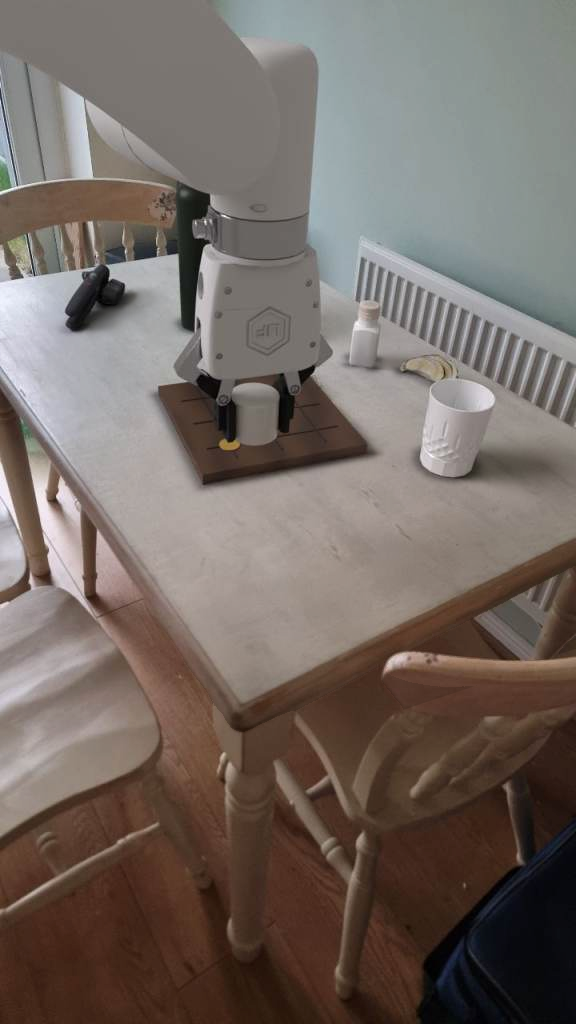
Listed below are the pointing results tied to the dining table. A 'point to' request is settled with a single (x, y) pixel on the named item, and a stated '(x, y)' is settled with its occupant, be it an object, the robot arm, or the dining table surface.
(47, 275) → the dining table surface
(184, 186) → the wine bottle
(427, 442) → the white cup
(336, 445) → the board
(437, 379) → the oyster shell
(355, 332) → the pepper shaker
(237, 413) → the white cylinder
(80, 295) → the can opener
